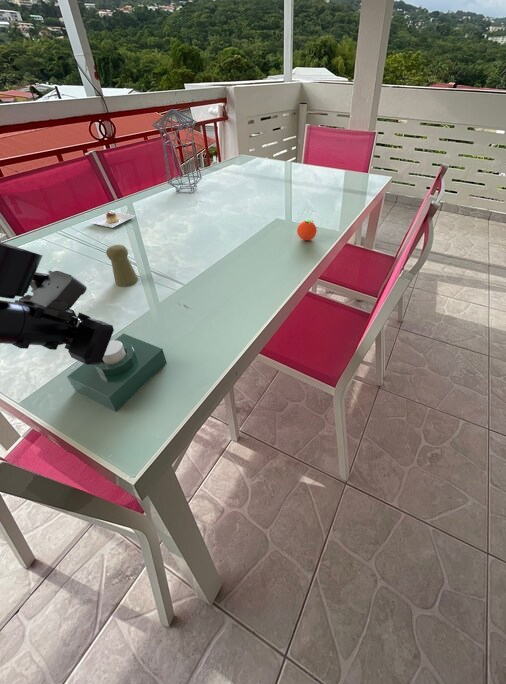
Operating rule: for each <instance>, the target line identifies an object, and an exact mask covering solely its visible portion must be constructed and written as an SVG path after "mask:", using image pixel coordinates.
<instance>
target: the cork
mask: <svg viewBox="0 0 506 684" xmlns="http://www.w3.org/2000/svg"><path fill="white" fill-rule="evenodd" d="M105 255H106V257H107V258H108V260H110V262H111V266H112V274H113V277H114V283H115V285H116V286H117V287H119V288H125V287H130V286H132V285H135V284H136V283H138V281H139V277H138V275H137V273H136V271H135V268H134V267H133V265H132V263H131V261H130V258H129V257H128V255H129V251H128V248H127V247H126V246H125V245H123V244H114V245H111V246H109V247H108V248H107V249H106V252H105Z"/></svg>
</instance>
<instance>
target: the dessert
mask: <svg viewBox="0 0 506 684" xmlns="http://www.w3.org/2000/svg"><path fill="white" fill-rule="evenodd" d="M135 217H136V215H135V214H129V213H125V212H124V213H123V212H119V211H114V210H111V209H110V210H109V211H107V212H106V213H105V214H103V215H101V216H99V217H96V218H94V219H92V220H90V221H87V223H88V224H92V225H97V226H102V227H107V228H111V229H114V228H116V227H118V226H121V225H122V224H124V223H126V222H128V221H130V220H132V219H133V218H135Z"/></svg>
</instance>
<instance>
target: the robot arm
mask: <svg viewBox="0 0 506 684" xmlns="http://www.w3.org/2000/svg"><path fill="white" fill-rule="evenodd" d="M43 256H44V255H43V254H40V253H37V252H34V251H31V250H27V249H23V248H21V247H19V246H14V245H12V244H8V243H4V242H1V241H0V298H3V299H10V300H14V299H15V298H16V297H19V299H18V300H17V299H15V300H14V301H9V300H2V299H0V344H3V345H4V344H6V345H12V346H14V347H16V348H18V349H26V350H27V349H29V347H30V346H42V347H43V348H46V349H47V350H51V351H52V350H55V351H56V350H57V349H58V347H59V346H62V345H65V346H64V349H66V350H68V351H67V352H68V354H69V356H70V358H72V359H74V360H76V361H78V362H80V363H82V364H86V365H98V364H99V363H101V362H102V360H103V357H104V354H105V352H106V349H107V347H108V344H109V342H110V341H111V340H112V336H113V334H114V331H115V328H114V325H112V324H109V323H107V322H105V321H102V320H99V319H95V318H92V317H91V316H89V315H87V314H85V313H82V312H78V313H76V312H75V310H73V309H72V308H73V306H74V305H75V304H76V302H77V301H78V300H79V298H80V297H81V296H82V295H84V294H85V293H86V292H87V289H88V288H87V286H86V285H85V284H84V283H82V282H81V281H80V280H78V279H77V278H76V277H75V276H73V275H72V274H69V273H65V272H63V271H60V270H53V271H52V270H48V272H47V273H44V272H37V270H38V268H39V265H40V264H41V260H42V258H43ZM30 288H31V290H30V292H31V293H33V294H27V293H28V292H29V289H30Z"/></svg>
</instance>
